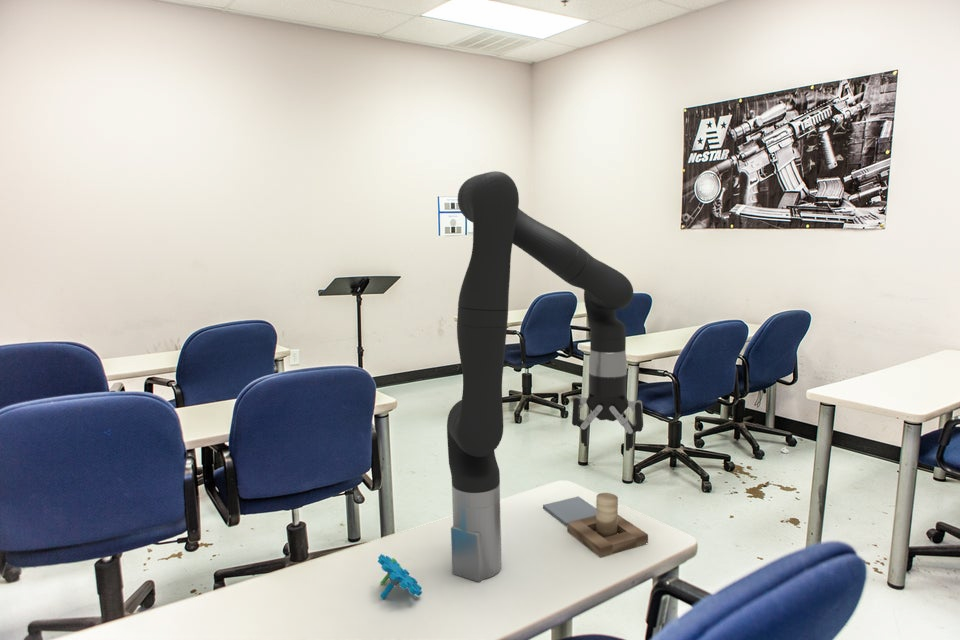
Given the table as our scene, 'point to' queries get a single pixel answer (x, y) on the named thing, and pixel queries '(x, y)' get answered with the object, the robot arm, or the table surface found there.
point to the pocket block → (601, 546)
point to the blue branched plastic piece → (397, 577)
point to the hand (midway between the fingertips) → (607, 447)
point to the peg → (606, 514)
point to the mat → (570, 509)
